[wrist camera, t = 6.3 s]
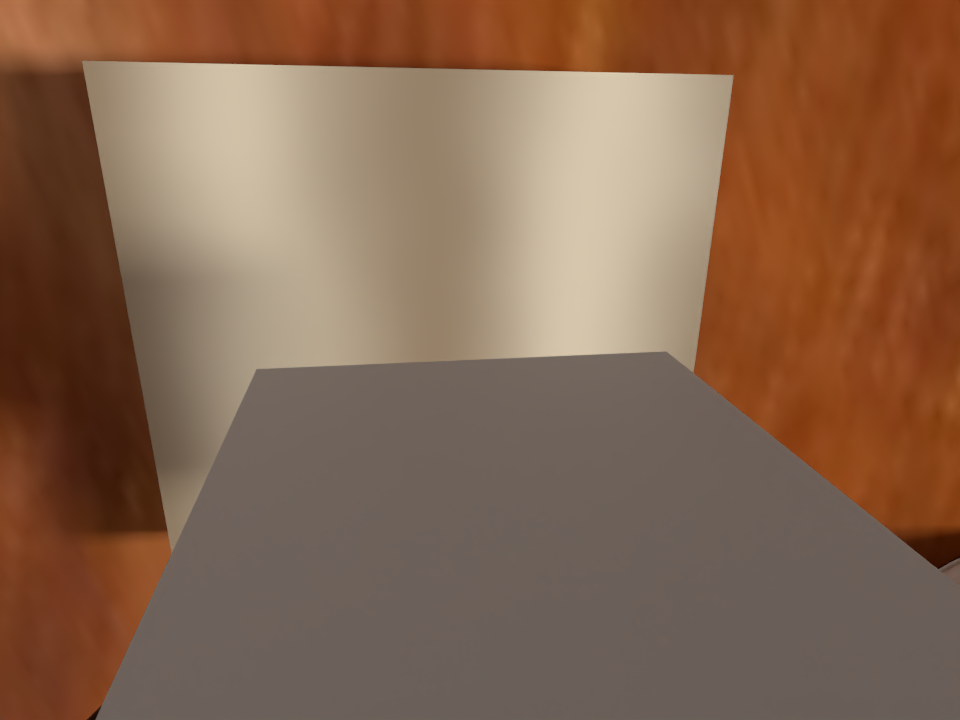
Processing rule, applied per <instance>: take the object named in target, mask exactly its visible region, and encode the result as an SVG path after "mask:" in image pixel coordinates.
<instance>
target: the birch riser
mask: <svg viewBox="0 0 960 720" xmlns="http://www.w3.org/2000/svg"><path fill="white" fill-rule="evenodd" d="M82 64H83V69H84V75H85V80H86V86H87V91H88V97H89V102H90V108H91V113H92V119H93V124H94V130H95V135H96V141H97V146H98V152H99V157H100V163H101V168H102V174H103V179H104V185H105V190H106V196H107V201H108V207H109V212H110V218H111V223H112V229H113V234H114V240H115V245H116V251H117V256H118V262H119V267H120V273H121V278H122V283H123V289H124V294H125V300H126V305H127V311H128V316H129V322H130V327H131V333H132V338H133V344H134V349H135V355H136V360H137V366H138V371H139V377H140V382H141V388H142V393H143V399H144V404H145V410H146V415H147V421H148V426H149V432H150V437H151V443H152V448H153V454H154V459H155V465H156V470H157V476H158V481H159V487H160V492H161V498H162V503H163V509H164V514H165V520H166V525H167V531H168V536H169V542H170V547H171V553H172V552H173V550H174V548H175V545H176V543H177V541H178V539H179V537H180V535H181V532H182V530H183V528H184V526H185V524H186V522H187V519H188V517H189V515H190V513H191V511H192V508H193V506H194V504H195V502H196V500H197V498H198V495H199V493H200V491H201V489H202V487H203V485H204V482H205V480H206V478H207V476H208V474H209V471H210V469H211V467H212V465H213V463H214V461H215V458H216V456H217V454H218V452H219V450H220V448H221V445H222V443H223V441H224V439H225V437H226V435H227V432H228V430H229V428H230V426H231V424H232V421H233V419H234V417H235V415H236V413H237V411H238V408H239V406H240V404H241V402H242V400H243V398H244V395H245V393H246V391H247V389H248V387H249V384H250V382H251V380H252V378H253V376H254V374H255V371H256V369H271V368H294V367H317V366H341V365H364V364H387V363H410V362H433V361H457V360H480V359H503V358H526V357H549V356H573V355H596V354H619V353H642V352H665V351H666V352H668V353H669V354H670V355H671V356H673V357H674V358H675V359H676V360H678V361H679V362H680V363H681V364H683V365H684V366H685V367H686V368H688V369H689V370H690V371H691V372H693V373H694V365H695V358H696V351H697V343H698V336H699V328H700V321H701V313H702V306H703V298H704V291H705V284H706V276H707V269H708V261H709V254H710V246H711V239H712V231H713V224H714V217H715V209H716V202H717V194H718V187H719V179H720V172H721V165H722V157H723V150H724V142H725V135H726V127H727V120H728V112H729V105H730V98H731V90H732V83H733V75H701V74H656V73H611V72H566V71H521V70H476V69H430V68H385V67H340V66H295V65H250V64H205V63H160V62H115V61H82Z"/></svg>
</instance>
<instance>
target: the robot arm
mask: <svg viewBox="0 0 960 720" xmlns="http://www.w3.org/2000/svg"><path fill="white" fill-rule="evenodd" d="M101 706H102V705H101ZM101 706H100V707H99V708H98V709H97V710H96V711H95V712H94V713H93V714H92V715H91V716H90V717H89V718H88V719H87V720H95V719H96V717H97V715H98V713H99V711H100V709H101Z"/></svg>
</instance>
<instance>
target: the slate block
mask: <svg viewBox="0 0 960 720" xmlns="http://www.w3.org/2000/svg"><path fill="white" fill-rule="evenodd" d="M95 720H960V586H958V585H957V584H956V583H955V582H953V581H952V580H951V579H950V578H948V577H947V576H946V575H945V574H943V573H942V572H941V571H940V570H938V569H937V568H936V567H935V566H933V565H932V564H931V563H930V562H928V561H927V560H926V559H925V558H923V557H922V556H921V555H920V554H918V553H917V552H916V551H915V550H913V549H912V548H911V547H910V546H908V545H907V544H906V543H905V542H903V541H902V540H901V539H900V538H898V537H897V536H896V535H895V534H893V533H892V532H891V531H890V530H888V529H887V528H886V527H885V526H883V525H882V524H881V523H880V522H878V521H877V520H876V519H875V518H874V517H872V516H871V515H870V514H869V513H867V512H866V511H865V510H864V509H862V508H861V507H860V506H859V505H857V504H856V503H855V502H854V501H852V500H851V499H850V498H849V497H847V496H846V495H845V494H844V493H842V492H841V491H840V490H839V489H837V488H836V487H835V486H834V485H832V484H831V483H830V482H829V481H827V480H826V479H825V478H824V477H822V476H821V475H820V474H819V473H817V472H816V471H815V470H814V469H812V468H811V467H810V466H809V465H807V464H806V463H805V462H804V461H802V460H801V459H800V458H799V457H797V456H796V455H795V454H794V453H792V452H791V451H790V450H789V449H787V448H786V447H785V446H784V445H782V444H781V443H780V442H779V441H777V440H776V439H775V438H774V437H772V436H771V435H770V434H769V433H767V432H766V431H765V430H764V429H763V428H761V427H760V426H759V425H758V424H756V423H755V422H754V421H753V420H751V419H750V418H749V417H748V416H746V415H745V414H744V413H743V412H741V411H740V410H739V409H738V408H736V407H735V406H734V405H733V404H731V403H730V402H729V401H728V400H726V399H725V398H724V397H723V396H721V395H720V394H719V393H718V392H716V391H715V390H714V389H713V388H711V387H710V386H709V385H708V384H706V383H705V382H704V381H703V380H701V379H700V378H699V377H698V376H696V375H695V374H694V373H693V372H691V371H690V370H689V369H688V368H686V367H685V366H684V365H683V364H681V363H680V362H679V361H678V360H676V359H675V358H674V357H673V356H671V355H670V354H669V353H668V352H666V351H665V352H642V353H619V354H596V355H573V356H549V357H526V358H503V359H480V360H457V361H433V362H410V363H387V364H364V365H341V366H317V367H294V368H271V369H256V371H255V374H254V376H253V378H252V380H251V382H250V384H249V387H248V389H247V391H246V393H245V395H244V398H243V400H242V402H241V404H240V406H239V408H238V411H237V413H236V415H235V417H234V419H233V421H232V424H231V426H230V428H229V430H228V432H227V435H226V437H225V439H224V441H223V443H222V445H221V448H220V450H219V452H218V454H217V456H216V458H215V461H214V463H213V465H212V467H211V469H210V471H209V474H208V476H207V478H206V480H205V482H204V485H203V487H202V489H201V491H200V493H199V495H198V498H197V500H196V502H195V504H194V506H193V508H192V511H191V513H190V515H189V517H188V519H187V522H186V524H185V526H184V528H183V530H182V532H181V535H180V537H179V539H178V541H177V543H176V545H175V548H174V550H173V552H172V554H171V556H170V559H169V561H168V563H167V565H166V567H165V569H164V572H163V574H162V576H161V578H160V580H159V582H158V585H157V587H156V589H155V591H154V593H153V595H152V598H151V600H150V602H149V604H148V606H147V609H146V611H145V613H144V615H143V617H142V619H141V622H140V624H139V626H138V628H137V630H136V632H135V635H134V637H133V639H132V641H131V643H130V646H129V648H128V650H127V652H126V654H125V656H124V659H123V661H122V663H121V665H120V667H119V669H118V672H117V674H116V676H115V678H114V680H113V683H112V685H111V687H110V689H109V691H108V693H107V696H106V698H105V700H104V702H103V704H102V706H101V709H100V711H99V713H98V715H97V717H96V719H95Z"/></svg>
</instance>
